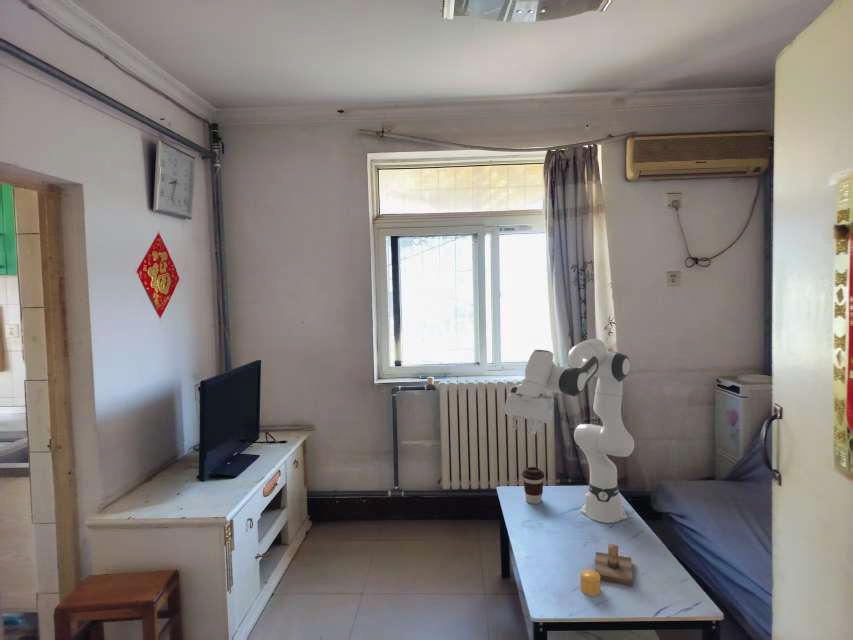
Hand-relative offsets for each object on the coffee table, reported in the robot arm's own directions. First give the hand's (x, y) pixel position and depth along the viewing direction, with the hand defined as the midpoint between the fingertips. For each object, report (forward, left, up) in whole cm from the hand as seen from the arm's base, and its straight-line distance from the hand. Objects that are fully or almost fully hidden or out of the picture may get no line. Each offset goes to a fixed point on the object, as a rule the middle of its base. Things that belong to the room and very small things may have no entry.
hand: (522, 431), depth 165 cm
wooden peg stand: (-10, +29, -51) cm, 59 cm away
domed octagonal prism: (+3, +22, -51) cm, 55 cm away
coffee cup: (-56, -6, -51) cm, 76 cm away
